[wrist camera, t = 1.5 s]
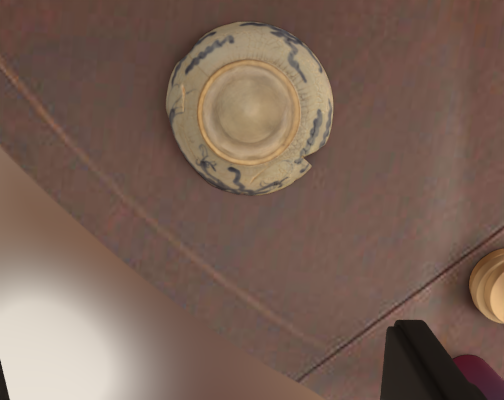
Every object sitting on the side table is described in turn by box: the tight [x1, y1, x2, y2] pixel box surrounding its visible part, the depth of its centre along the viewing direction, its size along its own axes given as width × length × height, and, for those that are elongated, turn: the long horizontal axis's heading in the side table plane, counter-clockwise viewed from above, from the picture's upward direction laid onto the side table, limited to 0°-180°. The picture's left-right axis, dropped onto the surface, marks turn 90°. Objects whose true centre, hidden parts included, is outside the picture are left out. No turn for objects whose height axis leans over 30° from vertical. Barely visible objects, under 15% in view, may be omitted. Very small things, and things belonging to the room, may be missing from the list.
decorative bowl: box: [166, 22, 333, 196], centre depth 31 cm, size 15×4×15 cm
